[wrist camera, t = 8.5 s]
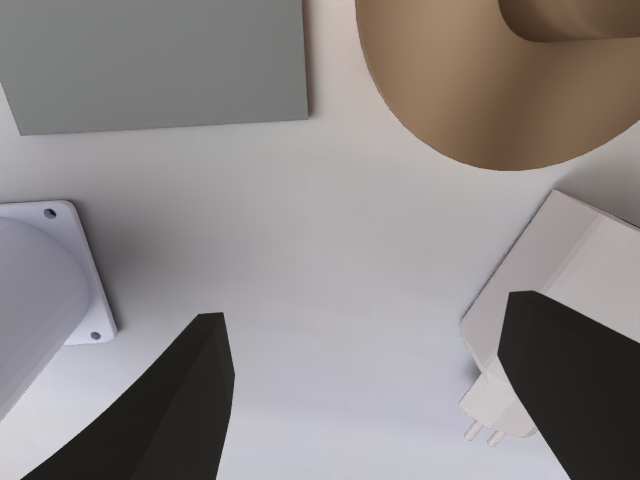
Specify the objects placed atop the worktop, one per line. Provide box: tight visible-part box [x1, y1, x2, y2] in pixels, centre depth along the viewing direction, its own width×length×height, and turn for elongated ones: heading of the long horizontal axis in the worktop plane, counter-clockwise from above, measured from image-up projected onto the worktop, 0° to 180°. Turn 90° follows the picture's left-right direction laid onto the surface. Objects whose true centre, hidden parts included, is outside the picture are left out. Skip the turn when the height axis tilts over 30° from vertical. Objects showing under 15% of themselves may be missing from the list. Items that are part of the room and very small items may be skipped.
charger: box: [457, 189, 640, 447], centre depth 21 cm, size 5×9×15 cm
